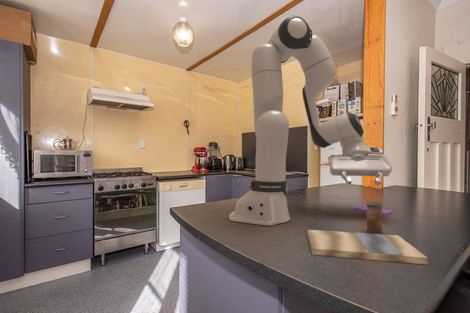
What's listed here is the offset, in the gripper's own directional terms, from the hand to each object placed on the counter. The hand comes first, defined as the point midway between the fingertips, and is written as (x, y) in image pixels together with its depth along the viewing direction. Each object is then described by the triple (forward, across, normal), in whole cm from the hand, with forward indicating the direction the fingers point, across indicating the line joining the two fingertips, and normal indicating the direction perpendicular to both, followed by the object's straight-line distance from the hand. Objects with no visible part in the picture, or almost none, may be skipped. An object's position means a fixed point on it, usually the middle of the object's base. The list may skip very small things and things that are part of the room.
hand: (363, 183), depth 82 cm
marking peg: (+17, 0, +2) cm, 17 cm away
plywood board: (+26, -8, -7) cm, 28 cm away
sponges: (-1, +8, +22) cm, 23 cm away
